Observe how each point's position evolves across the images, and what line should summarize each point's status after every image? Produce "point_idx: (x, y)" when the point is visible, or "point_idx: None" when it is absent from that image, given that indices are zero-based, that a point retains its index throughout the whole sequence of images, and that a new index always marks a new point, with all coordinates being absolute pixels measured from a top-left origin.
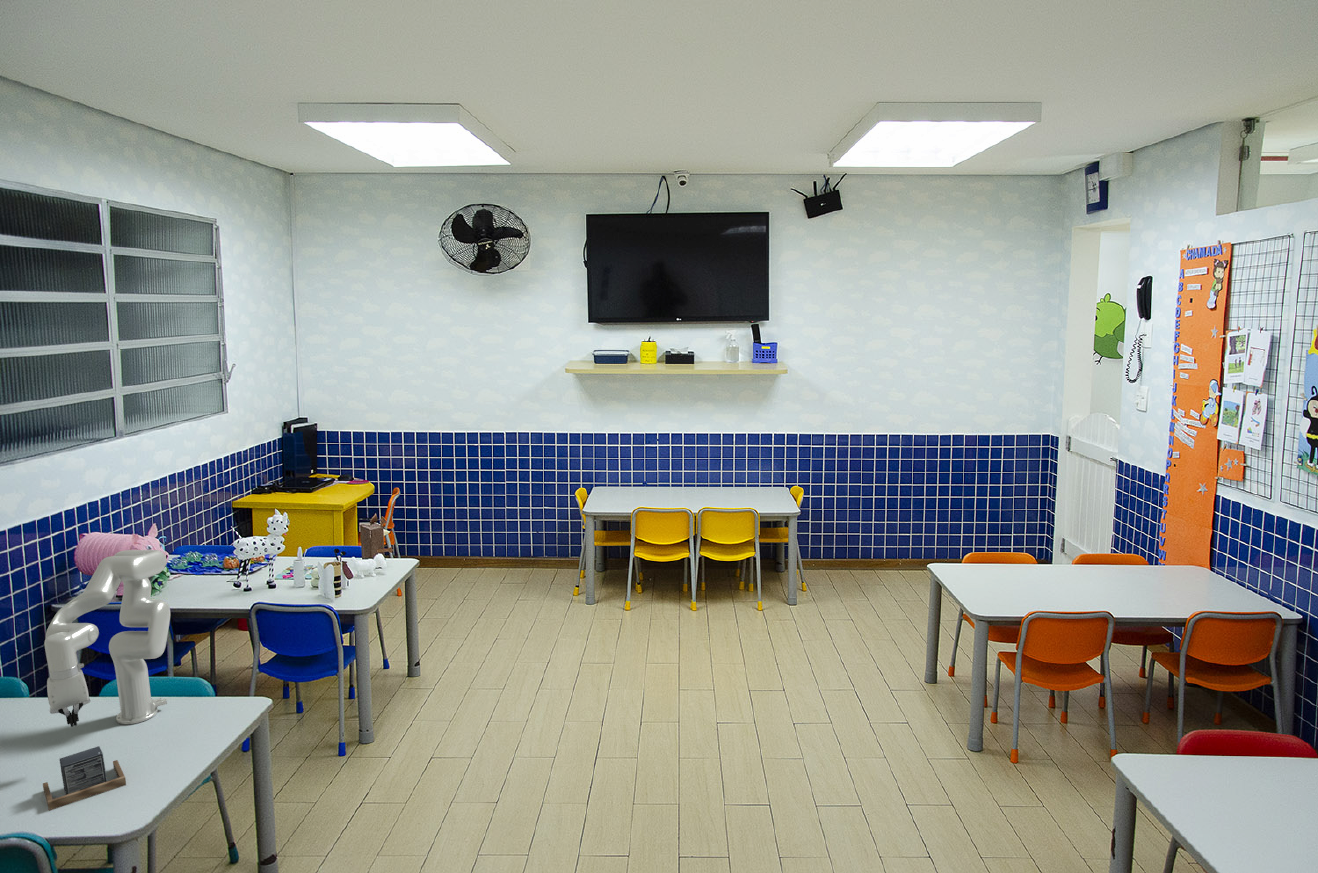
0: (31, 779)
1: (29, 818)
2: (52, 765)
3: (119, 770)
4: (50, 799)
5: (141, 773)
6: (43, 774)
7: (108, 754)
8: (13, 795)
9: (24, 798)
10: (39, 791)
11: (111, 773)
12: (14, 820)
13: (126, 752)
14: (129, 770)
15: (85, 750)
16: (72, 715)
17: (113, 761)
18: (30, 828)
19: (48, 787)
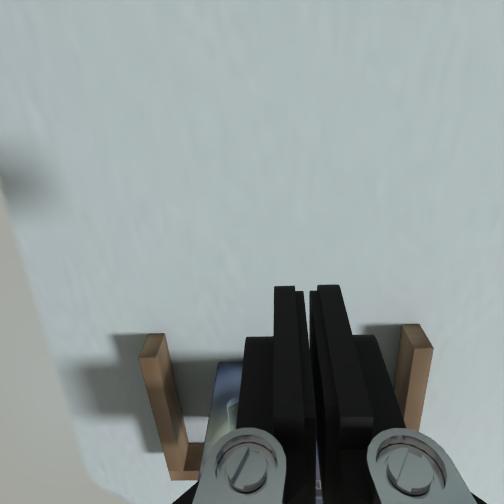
0: (83, 200)
1: (127, 456)
2: (162, 102)
3: (410, 428)
4: (176, 468)
5: (467, 412)
6: (129, 183)
7: (426, 167)
8: (40, 296)
9: (88, 342)
10: (133, 325)
11: (383, 353)
12: (86, 444)
13: (500, 205)
14: (443, 370)
15: (322, 501)
16: (323, 481)
17: (416, 351)
18: (137, 496)
19: (163, 398)
